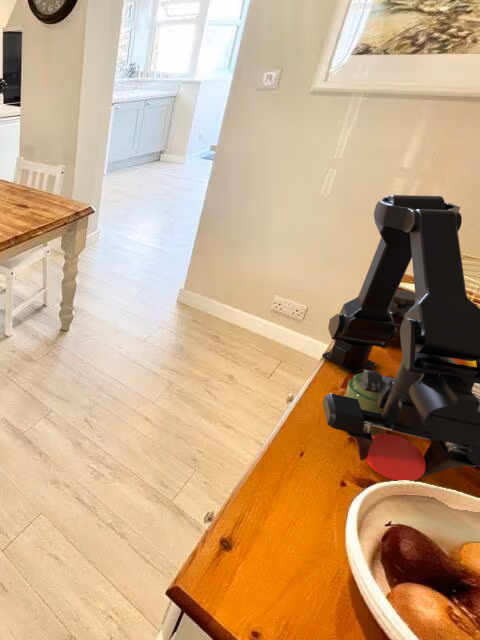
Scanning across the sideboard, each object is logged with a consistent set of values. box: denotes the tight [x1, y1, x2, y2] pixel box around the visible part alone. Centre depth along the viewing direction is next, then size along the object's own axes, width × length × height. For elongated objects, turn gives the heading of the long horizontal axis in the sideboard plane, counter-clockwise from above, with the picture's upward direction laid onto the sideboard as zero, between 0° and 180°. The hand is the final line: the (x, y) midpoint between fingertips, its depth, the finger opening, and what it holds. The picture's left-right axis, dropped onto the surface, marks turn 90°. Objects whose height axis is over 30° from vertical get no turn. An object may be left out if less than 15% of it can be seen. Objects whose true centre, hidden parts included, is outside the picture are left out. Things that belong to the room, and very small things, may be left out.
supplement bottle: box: [387, 289, 415, 349], centre depth 90 cm, size 7×7×12 cm
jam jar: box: [343, 372, 388, 436], centre depth 71 cm, size 6×6×10 cm
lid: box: [364, 433, 426, 482], centre depth 64 cm, size 7×7×2 cm
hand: (389, 465), depth 65 cm, fingers closed on lid, 6 cm apart
